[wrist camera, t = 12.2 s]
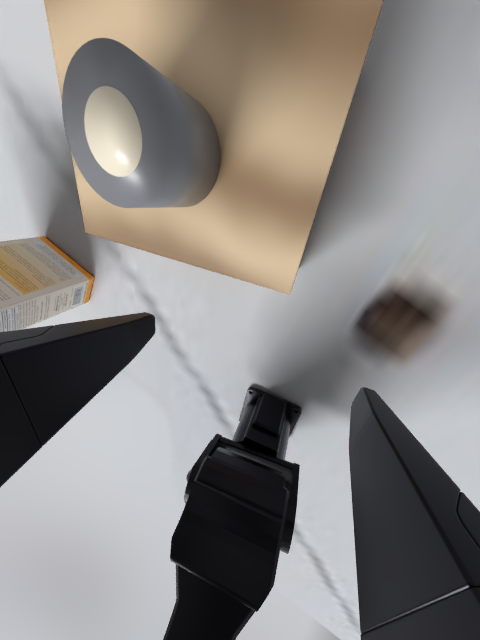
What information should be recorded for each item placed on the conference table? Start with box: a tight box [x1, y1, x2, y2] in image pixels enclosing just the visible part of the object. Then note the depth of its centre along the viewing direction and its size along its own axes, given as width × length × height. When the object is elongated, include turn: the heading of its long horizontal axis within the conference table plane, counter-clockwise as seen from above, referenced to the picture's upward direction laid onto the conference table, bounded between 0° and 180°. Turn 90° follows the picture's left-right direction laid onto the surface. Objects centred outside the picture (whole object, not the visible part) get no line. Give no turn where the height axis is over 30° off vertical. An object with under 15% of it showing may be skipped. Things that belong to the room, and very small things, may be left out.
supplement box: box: [0, 237, 94, 332], centre depth 23 cm, size 8×5×13 cm, turn 55°
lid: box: [44, 0, 384, 295], centre depth 13 cm, size 12×17×1 cm
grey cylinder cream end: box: [62, 38, 220, 208], centre depth 11 cm, size 5×5×5 cm
